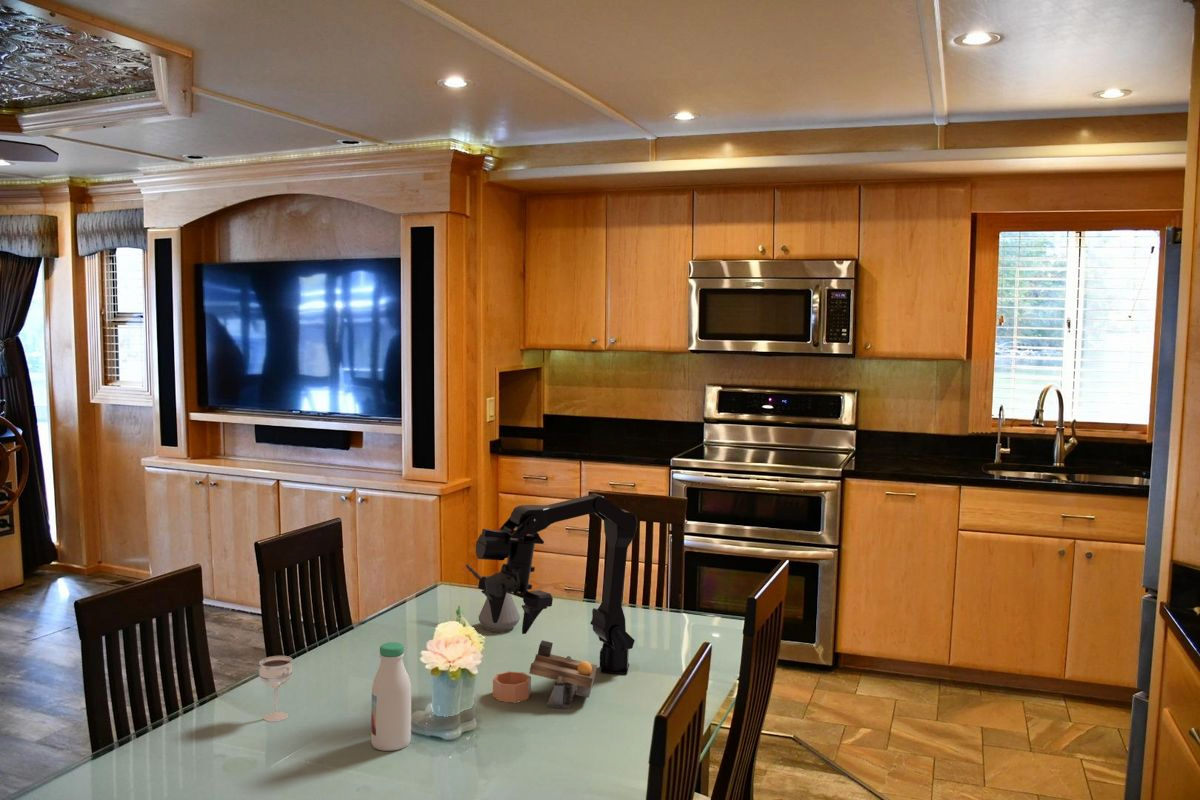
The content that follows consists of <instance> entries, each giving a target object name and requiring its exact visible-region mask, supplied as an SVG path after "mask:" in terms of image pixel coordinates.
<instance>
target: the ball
mask: <svg viewBox="0 0 1200 800" xmlns="http://www.w3.org/2000/svg"><path fill="white" fill-rule="evenodd" d="M591 664H592V663H590V661H586V660H583V661H581V663H580V664H579V665H578V672H579V674H580V675H584V676H588V675H589V674H590V673H591V671H592V666H591Z"/></svg>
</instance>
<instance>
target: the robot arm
mask: <svg viewBox="0 0 1200 800" xmlns="http://www.w3.org/2000/svg"><path fill="white" fill-rule="evenodd" d="M590 514H595V515H596V516H597V517H598V518H599V519H601V520H602V521H603V527H604V529H603V530H604V531H603V532H604V535H605V538H606V542H607V553H606V563H605V569H604V570H605V572H604V580H603V581H604V582H603V589H602V600H601V603H600V605H599V606H598V608H592V615H591V616H592V618H591V621H590V623H589V624H590V625H591V626H592V631H593V632H594V633H595V635H596V636H597V637H598V640H599V641H600V642H602V645H601V646H602V647H601V648H600V650H599V668H600V673H602V674H614V675H615V674H616V675H617V674H618V675H627V674H628V672H629V669H630V663H629V657H630V656H629V652H630V650H632V649H633V647H634V645H635V639H634V638H633V637H632V636H631V635H630V634H629V632H627V629H626V628H627V627H626V617H625V613H624V610H623V605H622V603H623V592H624V585H625V584H624V583H625V577H626V575H625V574H626V568H627V567H626V566H627V565H626V564H627V557H628V548H629V546H630V545H631V544H632V541H633V539H634V538H635V535H636V531H637V528H638V518H637V516H635V514H634V513H632V512H630V511H627V510H625V509H622V508H619V507H618V506H616V505H615V504H614V503H612V502H610V500H608V499H606V497H605V496H603V495H600V494H598V493H590V494H588V495H585V496H581V497H580V496H579V497H576V498H572V499H568V500H562V501H559V502H555V503H550V504H541V505H540V504H523V505H522V504H521V505H518V506H515V507H514V508H513V510H512V512H511V513H510V517H508V518H507V519H506V521H505V522H504V523H503V524H502V525H501V526H500V528H498V530H496V529H495V530H494V529H493V530H492V529H489V528H482V530H481V534H480V535H478V538H477V541H476V542H475V554H476V557H477V559H478V560H487V561H488V560H489V561H504V560H505V559H507V560H506V563H502V565H501V567H500V568H501V569H500V571H499V572H495V573H494V574H492V575H486V576H482V575H481V577H482V578H481V579H480V580H478V585H477V588H478V589H479V590H481V594H483V595H484V596H485V597H486V599H487V598H488V600H489V604H490V608H491V614H492V619H493V623H497V622H498V619H499V617H500V613H501V610H502V607H503V603H504V600H505V596H506V593H509V594H511V596H515V597H518V598H521V599H522V601H523V604H522V605H521V608H522V609H523V616H522V617H523V618H522V627H521V633H522V635H526V634H527V633H528V632H529V630H530V628H531V626H532V625H533V624H534V623H535V620H536V619H537V618H538V616H539V615H540V614H541V613H542V611H543V610H546V609H547V608H548V607H549V608H550V607H552V606H553V601H554V598H553V596H552V594H551V593H549V592H547V591H543V590H540V589H538V590H532V588H533V584H531V583H530V576H531V573H533V572H535V571H536V570H535V566H532V564H533V557H534V552H535V546H536V545H535V544H537V545H539V544H540V545H543V544H544V543H545V541H544V540H543V539H542V537H541V536H540V534H539V532H541V531H543V530H545V529H547V528H548V527H550V526H551V525H552V524H555V523H558V522H562V521H567V520H570V519H574V518H579V517H582V516H586V515H590Z"/></svg>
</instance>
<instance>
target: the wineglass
mask: <svg viewBox="0 0 1200 800" xmlns="http://www.w3.org/2000/svg"><path fill="white" fill-rule="evenodd" d="M292 663H293V658H292V657H291V656H287V655H273V656H268V657H264V658H263V659H261V660H260V661H259V663H258V664H259V666H260V667H259V669H258V676H259V679H260V680H261V681H262V682H263V684H265V685H267V686H271V687H272V689H273V694H274V695H273V697H274V712H270V713H267V714H265V715H264V716H263V720H264V721H266V722H270V723H271V722H280V721H281V722H282V721H284V720H286V719H287V718H288V717H289V714H288V713H287V712H283V711H278V696H279V693H278V692H279V688H280V687H281V686H282V685H284V684H285V683H287V681H289V680H290V679H291V677H292V675H293V671H294V668H293V664H292Z"/></svg>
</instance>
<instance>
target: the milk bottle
mask: <svg viewBox="0 0 1200 800" xmlns="http://www.w3.org/2000/svg"><path fill="white" fill-rule="evenodd" d="M404 648H405V646H404V644H403V643H401V642H396V641H393V642H391V641H389V642H385V643H382V644H381V645H380V646H379V654H380V655H379V658H380V664H379V667H378V669H377V672H376V674H375V676H374V679H373V682H372V685H371V714H370V715H371V716H370V717H371V719H370V720H371V722H370V724H371V725H370V727H371V728H370V729H371V730H370V731H371V734H370V735H371V745H372V747H373V748H374V749H376V750H379V751H384V752H385V751H386V752H393V751H398V750H402V749H404V748H406V747H407V746H408V745H409V744H410V742H411V740H412V684H411V679H410V676H409V674H408V672H407V671H408V670H406V667H405V664H404V660H403V657H404V650H405V649H404Z"/></svg>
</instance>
